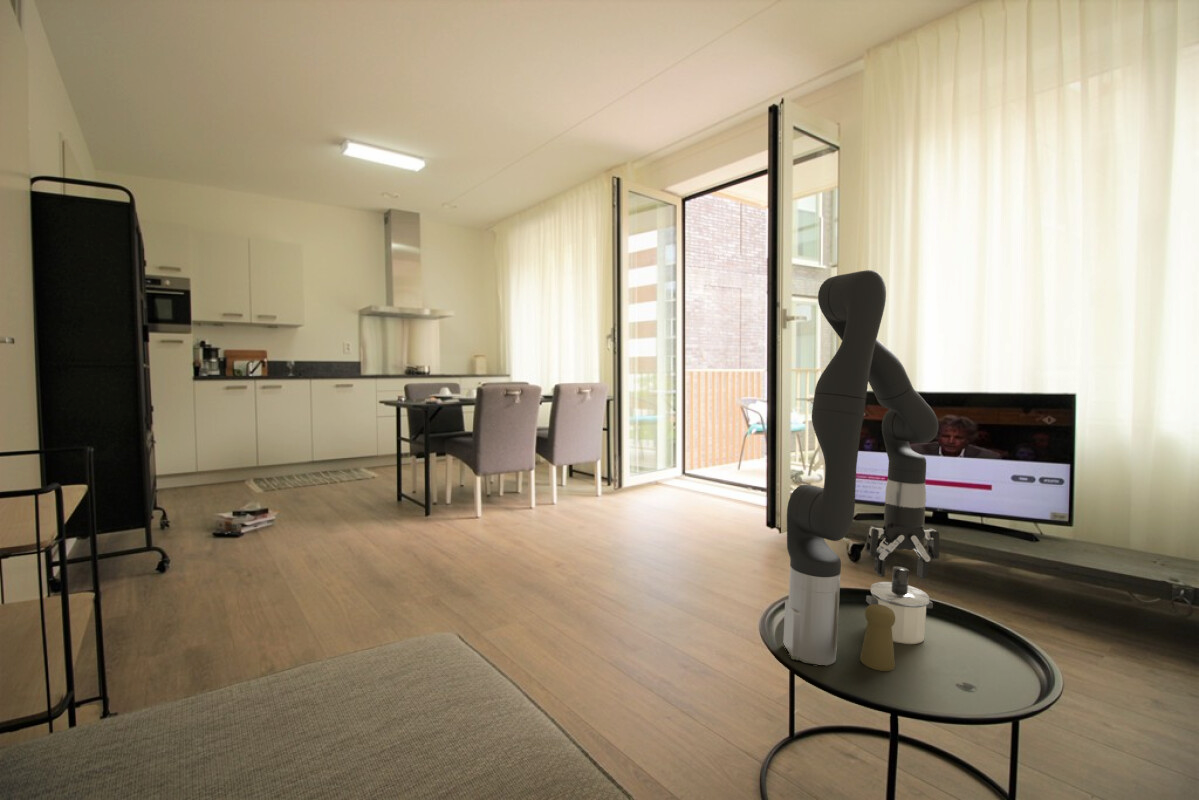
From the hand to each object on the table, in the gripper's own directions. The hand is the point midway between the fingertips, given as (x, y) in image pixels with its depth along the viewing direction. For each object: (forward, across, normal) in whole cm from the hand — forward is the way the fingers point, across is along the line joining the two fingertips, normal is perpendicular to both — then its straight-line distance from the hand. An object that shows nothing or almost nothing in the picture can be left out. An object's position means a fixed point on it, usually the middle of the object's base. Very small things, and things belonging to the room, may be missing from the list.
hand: (900, 576), depth 119 cm
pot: (+12, 0, 0) cm, 12 cm away
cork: (+13, +10, +13) cm, 21 cm away
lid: (+4, 0, 0) cm, 4 cm away
